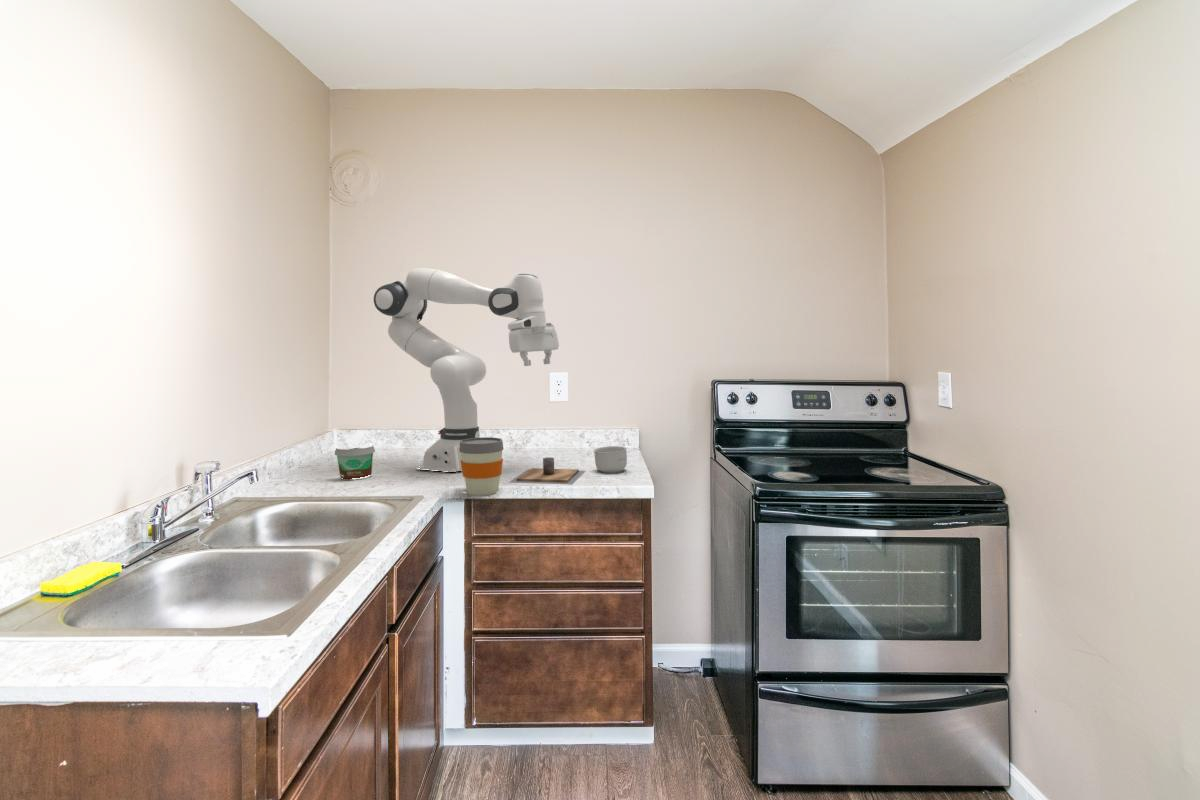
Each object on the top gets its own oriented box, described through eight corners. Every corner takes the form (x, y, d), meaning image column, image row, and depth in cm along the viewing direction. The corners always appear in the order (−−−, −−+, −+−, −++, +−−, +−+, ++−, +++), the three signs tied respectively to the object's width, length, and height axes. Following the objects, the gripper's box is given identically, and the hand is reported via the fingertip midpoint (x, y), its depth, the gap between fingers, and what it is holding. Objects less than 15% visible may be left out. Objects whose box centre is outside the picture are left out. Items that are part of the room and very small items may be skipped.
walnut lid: (516, 481, 190) (516, 462, 190) (532, 470, 206) (531, 453, 206) (567, 482, 187) (566, 463, 187) (578, 471, 203) (578, 454, 203)
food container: (337, 482, 193) (335, 451, 192) (335, 479, 198) (334, 448, 197) (378, 478, 199) (377, 447, 198) (376, 474, 204) (374, 444, 203)
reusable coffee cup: (504, 485, 186) (502, 436, 185) (505, 495, 174) (503, 443, 172) (461, 487, 184) (460, 438, 183) (459, 498, 172) (457, 444, 170)
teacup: (624, 475, 198) (623, 451, 198) (591, 474, 200) (590, 450, 200) (630, 467, 212) (630, 444, 211) (599, 466, 214) (599, 443, 213)
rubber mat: (508, 483, 189) (508, 482, 189) (528, 470, 208) (528, 469, 208) (572, 485, 185) (572, 484, 185) (586, 472, 205) (586, 470, 205)
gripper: (546, 324, 213) (551, 364, 214) (503, 324, 197) (509, 367, 197) (560, 321, 209) (565, 362, 210) (517, 322, 193) (523, 366, 193)
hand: (537, 365), depth 203 cm, fingers open, 8 cm apart
